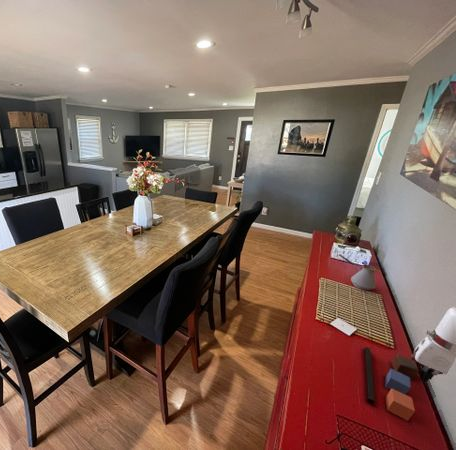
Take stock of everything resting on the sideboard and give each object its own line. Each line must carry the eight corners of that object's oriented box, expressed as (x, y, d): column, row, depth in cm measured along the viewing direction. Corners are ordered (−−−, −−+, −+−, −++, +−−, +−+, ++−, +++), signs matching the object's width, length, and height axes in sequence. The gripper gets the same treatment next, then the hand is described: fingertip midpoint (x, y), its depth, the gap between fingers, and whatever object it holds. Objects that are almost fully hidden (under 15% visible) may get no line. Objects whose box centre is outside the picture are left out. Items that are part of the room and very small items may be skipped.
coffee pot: (375, 286, 141) (385, 265, 135) (372, 295, 134) (382, 272, 128) (333, 271, 155) (340, 250, 150) (328, 277, 148) (335, 256, 142)
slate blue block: (403, 387, 86) (410, 377, 84) (404, 397, 82) (410, 387, 80) (385, 377, 89) (390, 368, 87) (385, 387, 85) (390, 377, 84)
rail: (368, 352, 99) (370, 348, 98) (372, 405, 80) (374, 401, 79) (363, 350, 100) (365, 346, 99) (366, 402, 80) (369, 398, 80)
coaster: (357, 328, 110) (357, 327, 110) (349, 335, 106) (349, 334, 106) (338, 317, 117) (338, 316, 116) (329, 323, 113) (330, 322, 112)
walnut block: (407, 369, 92) (413, 360, 90) (412, 380, 88) (418, 370, 86) (391, 363, 94) (396, 354, 93) (395, 373, 90) (400, 364, 88)
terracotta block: (405, 407, 79) (412, 397, 77) (408, 421, 76) (415, 411, 74) (385, 397, 82) (391, 388, 80) (387, 410, 78) (393, 400, 76)
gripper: (419, 336, 82) (397, 373, 89) (487, 362, 74) (456, 399, 81) (415, 323, 88) (394, 358, 95) (478, 345, 79) (449, 382, 87)
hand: (423, 377), depth 88 cm, fingers closed
